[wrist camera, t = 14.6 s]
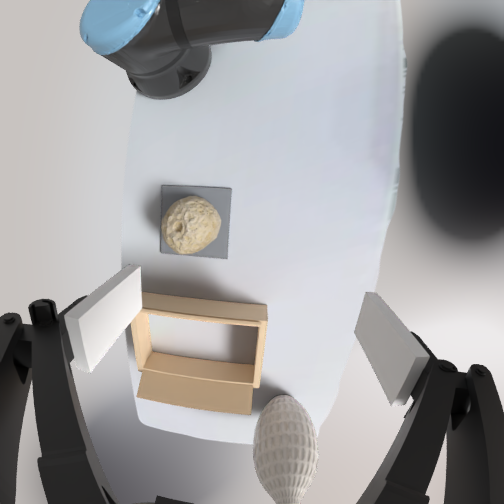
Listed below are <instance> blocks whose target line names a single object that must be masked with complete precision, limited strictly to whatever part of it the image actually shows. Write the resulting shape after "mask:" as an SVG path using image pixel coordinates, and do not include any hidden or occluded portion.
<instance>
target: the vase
mask: <svg viewBox="0 0 504 504" xmlns="http://www.w3.org/2000/svg"><path fill="white" fill-rule="evenodd" d="M253 458H254V464H255V470H256V473H257V476H258V478H259V481H260V483H261V484H262V486H263V487H264V489H265V490H266V491H267V492H268V494H269V495H270V496H271V497H272V498H273V500H274V501H275V502H276V504H300V502H301V499H302V498H303V496H304V495H305V493H306V491H307V490H308V488H309V487H310V485H311V483H312V481H313V479H314V476H315V474H316V470H317V464H318V444H317V438H316V433H315V429H314V425H313V423H312V420H311V418H310V416H309V414H308V413H307V411H306V410H305V408H304V407H303V406H302V405H301V404H300V403H299V402H298V401H297V400H296V399H294V398H293V397H291V396H289V395H279V396H276V397H274V398H273V399H272V400H271V401H270V402H269V403H268V404H267V405H266V406H265V407H264V409H263V411H262V412H261V414H260V417H259V419H258V421H257V424H256V428H255V433H254V441H253Z"/></svg>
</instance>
